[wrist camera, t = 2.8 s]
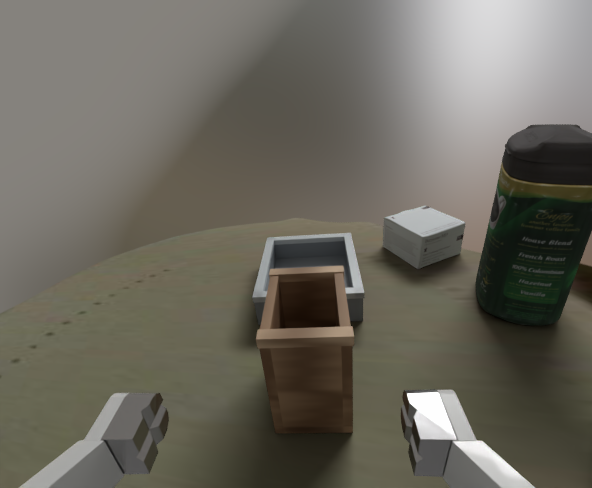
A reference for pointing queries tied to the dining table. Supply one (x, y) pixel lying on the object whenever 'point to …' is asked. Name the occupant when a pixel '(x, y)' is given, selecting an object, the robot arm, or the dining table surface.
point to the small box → (423, 236)
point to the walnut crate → (308, 350)
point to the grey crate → (312, 265)
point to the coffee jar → (537, 224)
